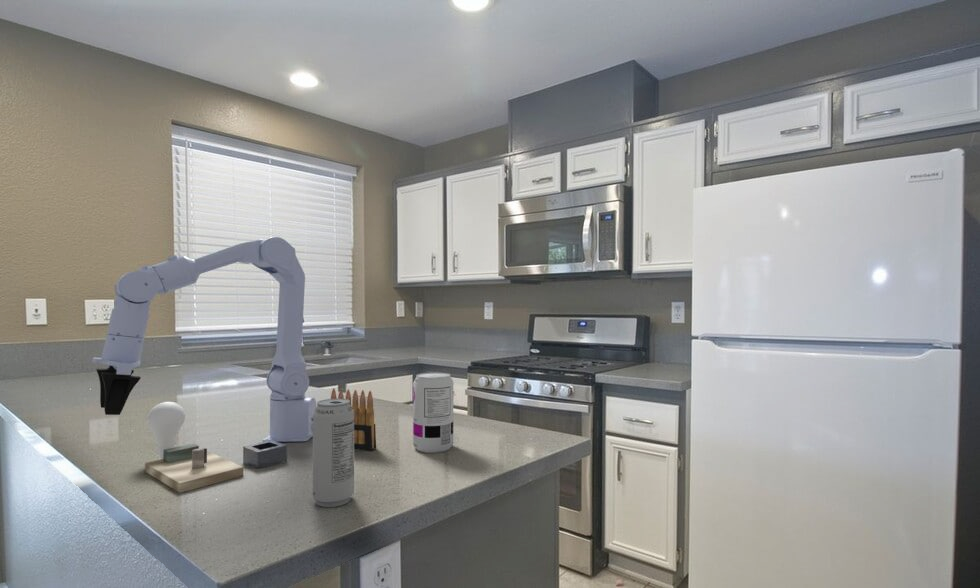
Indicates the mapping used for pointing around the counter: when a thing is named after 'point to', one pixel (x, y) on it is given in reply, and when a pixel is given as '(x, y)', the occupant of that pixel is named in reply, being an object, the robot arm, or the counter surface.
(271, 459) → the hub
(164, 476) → the stand
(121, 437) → the counter surface
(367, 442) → the ammunition clip
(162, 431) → the lightbulb
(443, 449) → the supplement can
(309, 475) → the counter surface
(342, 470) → the energy drink can
